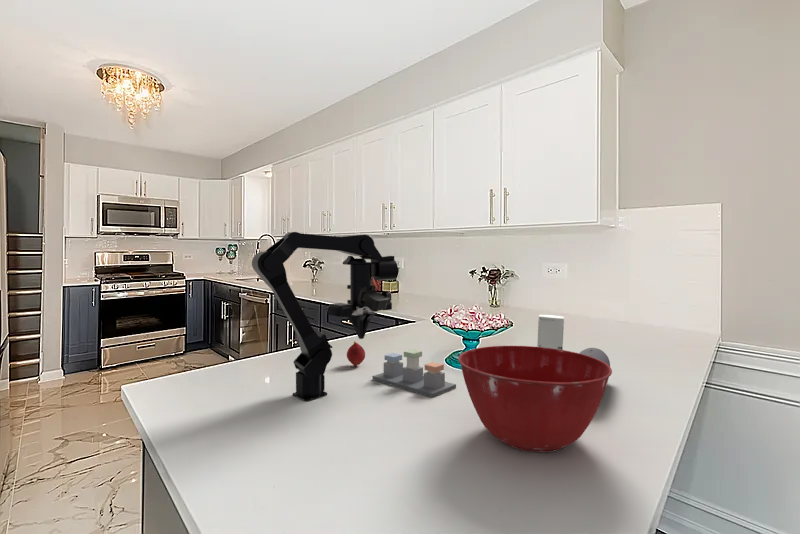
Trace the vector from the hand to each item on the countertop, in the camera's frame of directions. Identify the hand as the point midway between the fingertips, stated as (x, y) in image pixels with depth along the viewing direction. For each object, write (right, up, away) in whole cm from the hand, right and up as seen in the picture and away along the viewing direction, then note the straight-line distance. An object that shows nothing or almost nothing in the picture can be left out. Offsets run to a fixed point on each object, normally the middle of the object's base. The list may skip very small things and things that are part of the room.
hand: (361, 338), depth 115 cm
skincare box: (+61, -12, +28) cm, 69 cm away
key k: (+20, -11, -3) cm, 23 cm away
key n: (+14, -9, +2) cm, 17 cm away
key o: (+9, -11, +7) cm, 16 cm away
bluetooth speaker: (+60, -13, -4) cm, 61 cm away
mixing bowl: (+36, -15, -31) cm, 50 cm away
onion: (-4, -12, +20) cm, 24 cm away
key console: (+14, -13, +2) cm, 19 cm away
